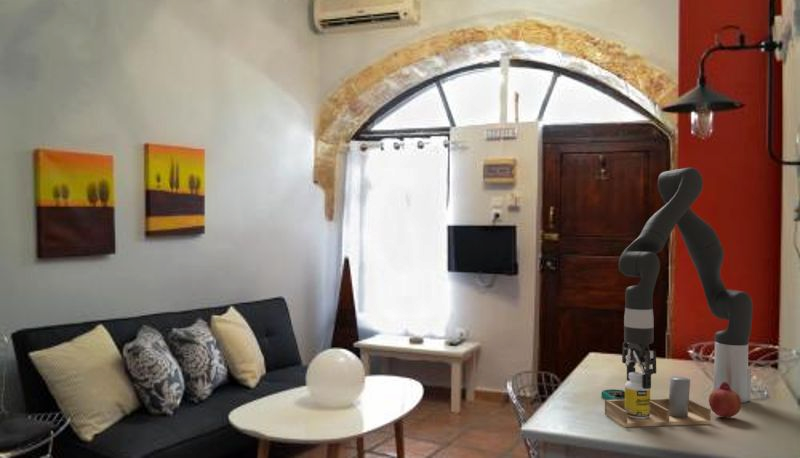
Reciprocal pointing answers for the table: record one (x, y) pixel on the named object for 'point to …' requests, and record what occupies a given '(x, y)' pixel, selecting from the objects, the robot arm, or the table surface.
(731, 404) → the fruit
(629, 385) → the pill bottle
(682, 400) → the grey cylinder
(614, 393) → the digital multimeter
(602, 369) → the table surface
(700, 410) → the divided wooden tray
